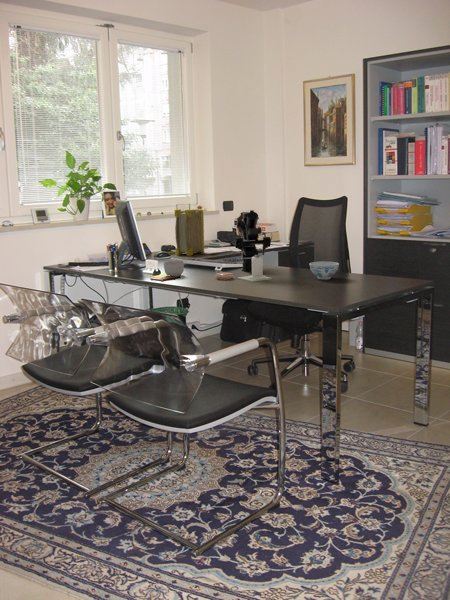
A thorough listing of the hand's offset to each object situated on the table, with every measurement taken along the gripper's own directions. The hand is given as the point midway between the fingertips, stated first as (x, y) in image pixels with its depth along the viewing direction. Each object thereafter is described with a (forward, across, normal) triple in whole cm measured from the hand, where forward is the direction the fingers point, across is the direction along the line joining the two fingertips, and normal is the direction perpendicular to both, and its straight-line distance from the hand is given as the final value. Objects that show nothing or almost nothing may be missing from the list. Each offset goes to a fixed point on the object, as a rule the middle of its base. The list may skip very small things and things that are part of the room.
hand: (254, 255), depth 362 cm
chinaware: (+17, +34, 0) cm, 38 cm away
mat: (+13, -1, +4) cm, 13 cm away
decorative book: (-64, -30, +82) cm, 108 cm away
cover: (+13, 0, +2) cm, 13 cm away
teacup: (-2, -42, +18) cm, 46 cm away
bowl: (+10, -16, +6) cm, 20 cm away
